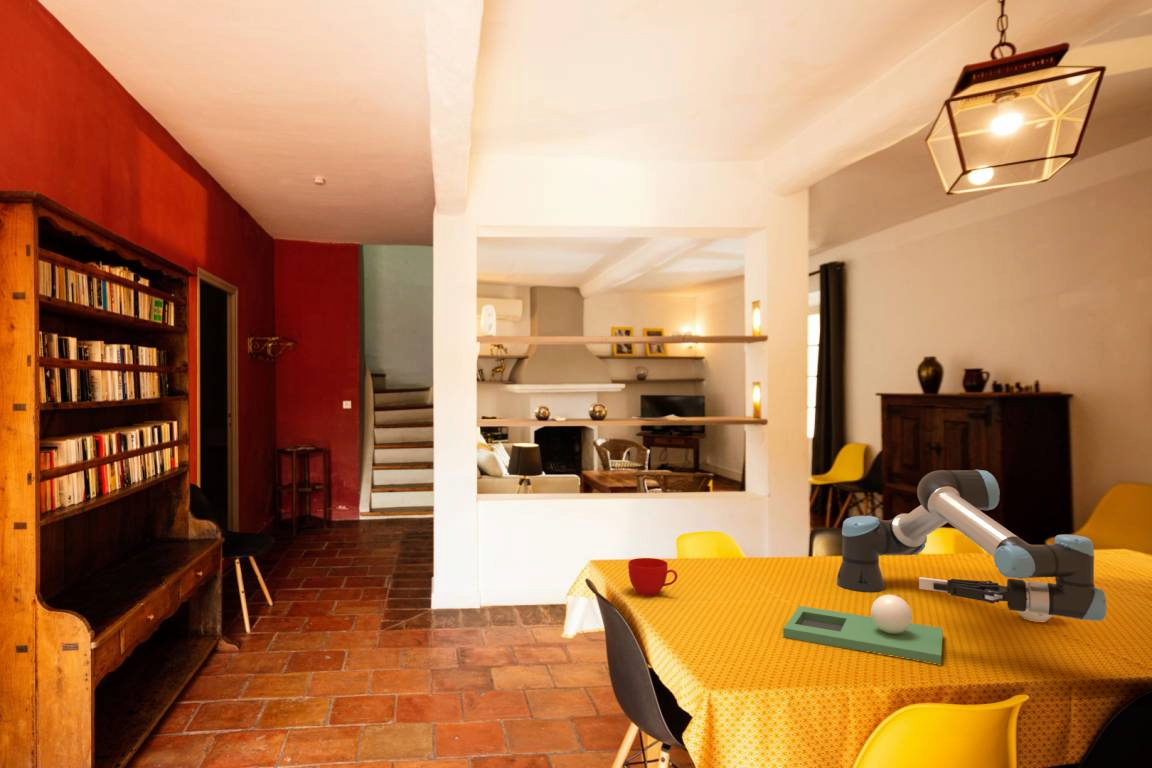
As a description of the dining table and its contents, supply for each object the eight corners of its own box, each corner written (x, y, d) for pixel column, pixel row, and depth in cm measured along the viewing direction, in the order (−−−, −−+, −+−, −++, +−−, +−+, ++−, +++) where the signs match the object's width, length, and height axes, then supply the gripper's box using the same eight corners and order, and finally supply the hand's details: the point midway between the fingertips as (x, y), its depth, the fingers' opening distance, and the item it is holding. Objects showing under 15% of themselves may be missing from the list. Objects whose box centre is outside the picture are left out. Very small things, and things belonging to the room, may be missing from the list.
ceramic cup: (668, 603, 215) (668, 571, 215) (621, 594, 224) (621, 564, 224) (684, 593, 226) (685, 562, 226) (639, 585, 235) (639, 555, 235)
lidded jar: (1004, 613, 207) (1004, 582, 207) (1037, 613, 208) (1037, 582, 208) (1030, 626, 196) (1030, 593, 196) (1065, 625, 197) (1065, 592, 197)
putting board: (942, 637, 187) (942, 628, 187) (941, 665, 168) (941, 655, 168) (799, 614, 205) (799, 605, 205) (783, 637, 186) (783, 628, 186)
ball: (886, 623, 190) (886, 587, 190) (920, 635, 181) (920, 597, 182) (862, 630, 185) (863, 593, 185) (896, 642, 176) (896, 603, 176)
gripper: (1028, 618, 162) (918, 603, 174) (1024, 604, 174) (920, 591, 185) (1028, 587, 162) (917, 574, 174) (1024, 574, 174) (920, 563, 185)
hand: (919, 582), depth 180 cm, fingers closed
